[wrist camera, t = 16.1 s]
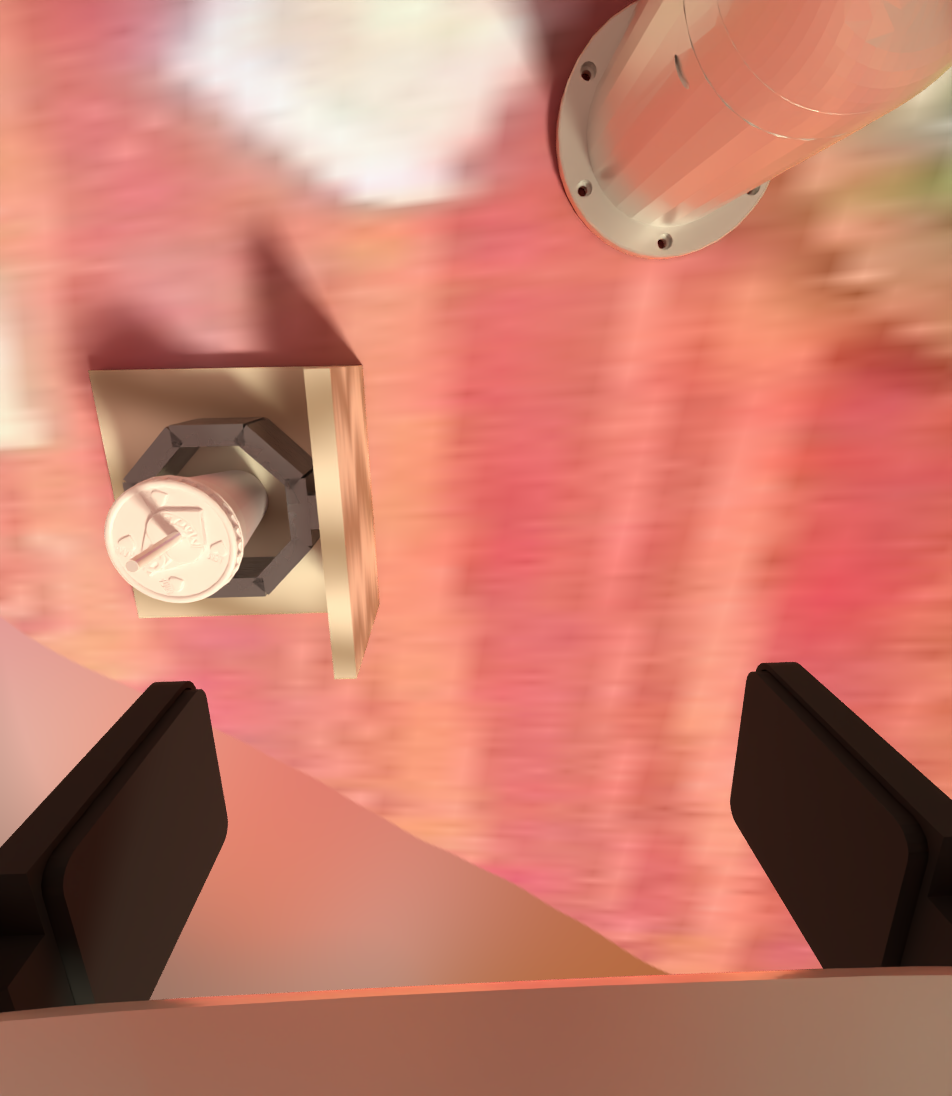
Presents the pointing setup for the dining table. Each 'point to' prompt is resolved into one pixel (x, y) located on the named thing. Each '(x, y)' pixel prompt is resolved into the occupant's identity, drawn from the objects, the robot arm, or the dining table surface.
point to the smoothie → (184, 532)
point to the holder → (279, 464)
